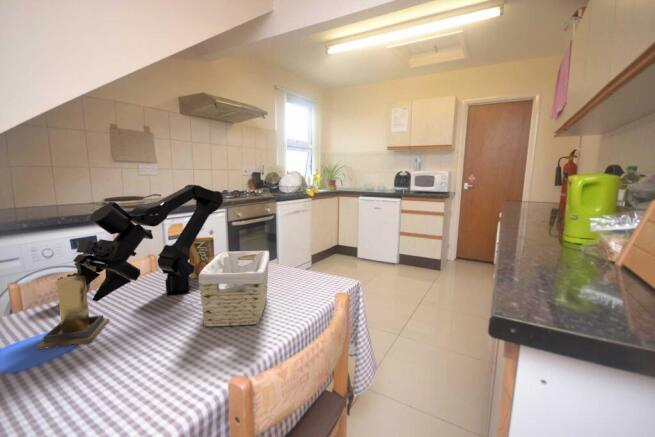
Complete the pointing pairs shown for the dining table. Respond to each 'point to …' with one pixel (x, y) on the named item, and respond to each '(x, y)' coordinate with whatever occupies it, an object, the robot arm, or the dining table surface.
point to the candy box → (201, 254)
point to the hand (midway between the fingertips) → (82, 297)
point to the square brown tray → (74, 334)
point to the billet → (73, 304)
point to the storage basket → (234, 288)
